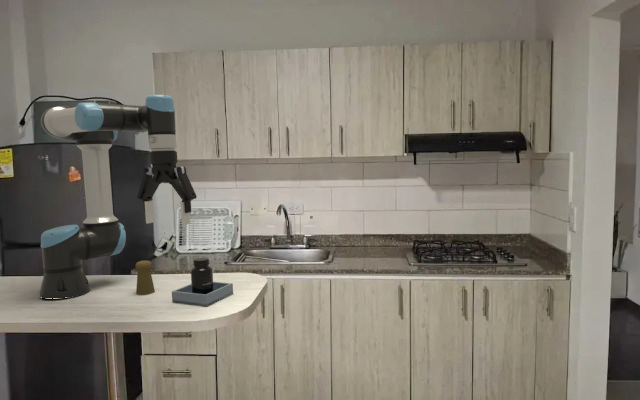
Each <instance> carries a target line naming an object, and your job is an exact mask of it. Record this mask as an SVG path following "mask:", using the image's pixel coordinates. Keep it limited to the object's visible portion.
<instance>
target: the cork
mask: <svg viewBox="0 0 640 400" xmlns="http://www.w3.org/2000/svg"><path fill="white" fill-rule="evenodd" d="M151 269H152V262H151V261H150V260H140V261H137V262H136V263H135V271H136V272H137V277H136V288H135V289H136V291H135V292H136V293H135V294H136V295H137V296H147V295H151V294H154V293H155V292H156V291H155V290H156V289H155V284H154V281H153V276H152V273H151Z"/></svg>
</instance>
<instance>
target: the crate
mask: <svg viewBox="0 0 640 400" xmlns="http://www.w3.org/2000/svg"><path fill="white" fill-rule="evenodd" d="M233 285H234V284H233V283H230V282H221V281H220V282H219V281H213V289H214V291H213V292H210V293H208V294H197V293H192V285H191V283H189V284H187V285H185V286H182V287H180V288H177V289H175V290H173V291H171V301H172V302H171V303H175V304H181V305H182V304H184V305H189V306H199V307H204V308H205V307H206V308H207V307H209V306H211V305H214V304H216V303H218V302H220V301H222V300H224V299H226V298H228V297H230V296H232V295H234V286H233ZM219 300H220V301H219ZM217 301H218V302H217ZM215 302H216V303H215ZM213 303H214V304H213Z"/></svg>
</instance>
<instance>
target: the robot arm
mask: <svg viewBox="0 0 640 400" xmlns="http://www.w3.org/2000/svg"><path fill="white" fill-rule="evenodd" d="M174 105H175V104H174V98H173V96H170V95H167V94H149V95H147V96H146V98H145V103H144V105H133V104H132V105H131V104H115V103H114V104H111V103H98V102H92V101H91V102H79V103H77V105H76V106H69V105H59V106H54V107H50V108H48V109H46V110H45V111H44V112H43V113H42V115H41V118H40V125H41V127H42V129H43V131H44V132H45V133H46V134H47V135H49V136H51V138H54V139H57V140H62V141H76V143H75V144H76V147H77V148H78V149H79V150H81V156H82V157H81V158H82V170H83V171H82V172H83V182H84V192H85V194H84V195H85V204H86V205H85V207H86V218H85V219H84V220H83V221H82V226H83V227H80V226H79V225H78V224H67V225H62V226H61V225H60V226H56V227H54V228H50V229H47V230H45V231H43V232H42V234H41V236H40V248H41V255H42V256H41V258H42V269H43V278H42V281H41V285H40V289H39V298H40V297H42V298H52V299H53V298H65V297H72V296H76V297H78V296H77V295H80V296H82V295H81V294H83V295H85V294H87V293H89V292H90V290H91V288H90V283H89V281H88V278H87V276H86V274H85V272H84V270H83V261H88V260H93V259H100V258H105V257H108V258H109V257H111V256H115V255H118V254H120V253H121V252H122V251H123V249H124V247H125V246H126V239H127V234H126V230H125V226H124V225H123V224H122V223H121V222H119V218H117V217H116V216H115V215H114V210H113V208H114V207H113V197H112V195H113V194H112V181H111V169H110V157H109V155H110V154H109V150H110V149H111V147H112V146H113V142H114V141H116V140H117V138H118V134H119V132H134V133H143V134H144V133H147V137H148V149H149V150H151V151H149V154H148V155H149V163H150V164H151V167H144V168H143V175H142V179H141V182H140V186H139V189H138V192H137V195H136V198H137V199H138V200H141V201H142V202H143V203H142V204H143V212H144V213H145V223H146V224H152V223H155V222H156V219H155V206H154V205H155V204H154V200H153V196H154V195H155V193H156V191H157V190H158V188H159V186H160V185H161V184H163V183H164V184H167V183H168V184H170V185H171V186H172V188H173V189H174V191H175V192H176V194H177V195H178V196H179V197H180V199H181V202H180V216H181V217H180V218H181V226H185V225H191V213H192V201H193V200H195V199H197V194H196V191H195V190H194V187H193V185H192V184H191V180H190V178H189V176H188V174H187V167H186V166H177V164H178V152H177V150H176V149H177V147H178V146H177V135H176V134H177V133H176V130H177V129H176V117H175V116H176V113H175V111H176V110H175V106H174ZM88 291H89V292H88ZM84 293H85V294H84ZM72 298H73V297H72Z"/></svg>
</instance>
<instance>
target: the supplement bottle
mask: <svg viewBox="0 0 640 400" xmlns="http://www.w3.org/2000/svg"><path fill="white" fill-rule="evenodd" d="M192 265H193V266H194V267H192V268H191V270H190V281H191V282H190V284H191V285H192V293H197V294H208V293H210V292H213V291H214V289H213V282H214V270H213V267H211V266H210V259H209V258H208V257H198V258H195V259H193V264H192Z"/></svg>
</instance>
